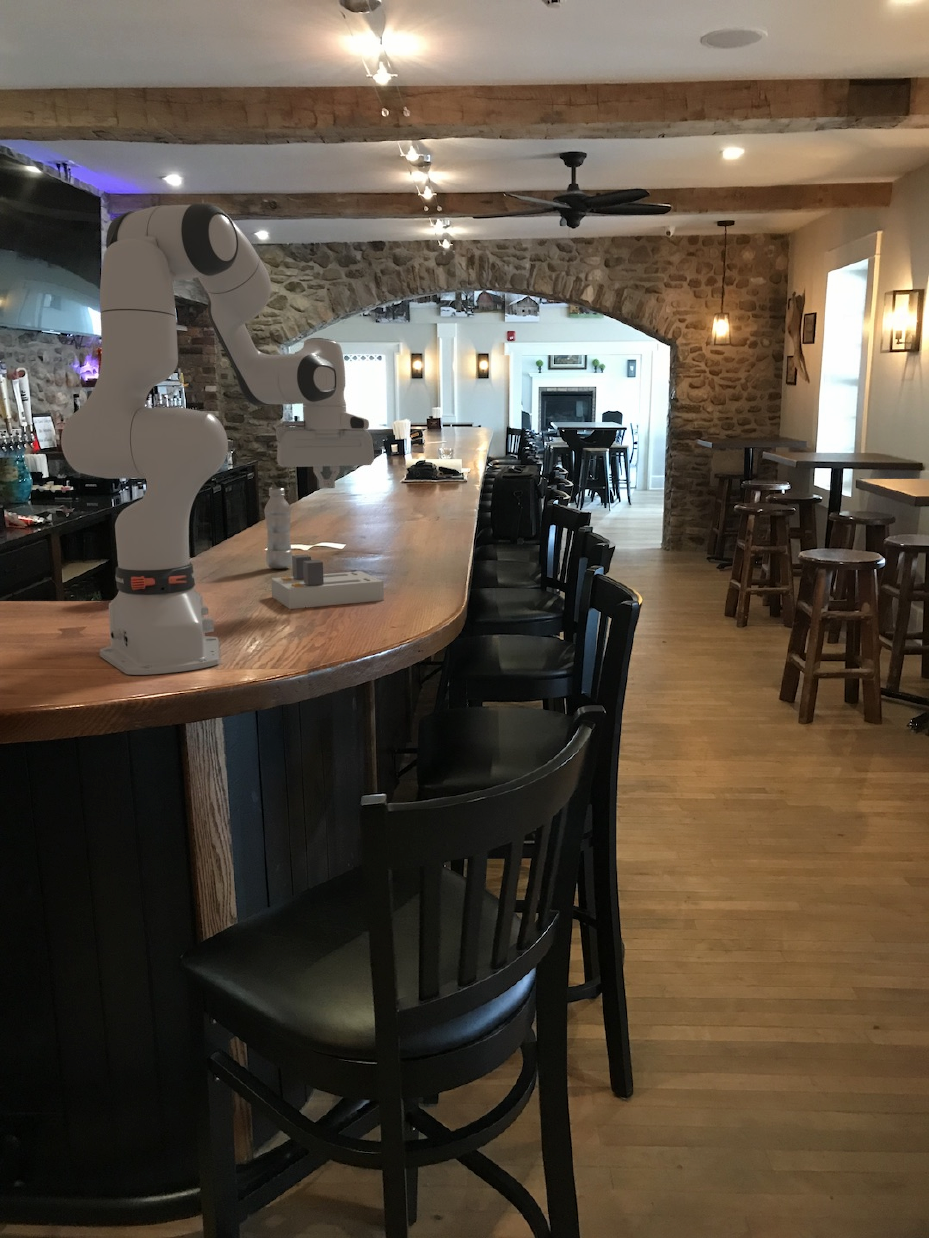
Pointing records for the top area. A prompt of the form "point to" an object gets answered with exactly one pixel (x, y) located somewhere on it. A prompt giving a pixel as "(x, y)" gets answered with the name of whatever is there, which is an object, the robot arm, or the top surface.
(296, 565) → the far tab
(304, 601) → the switch housing
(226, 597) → the top surface
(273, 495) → the plastic bottle
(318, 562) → the near tab
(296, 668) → the top surface
